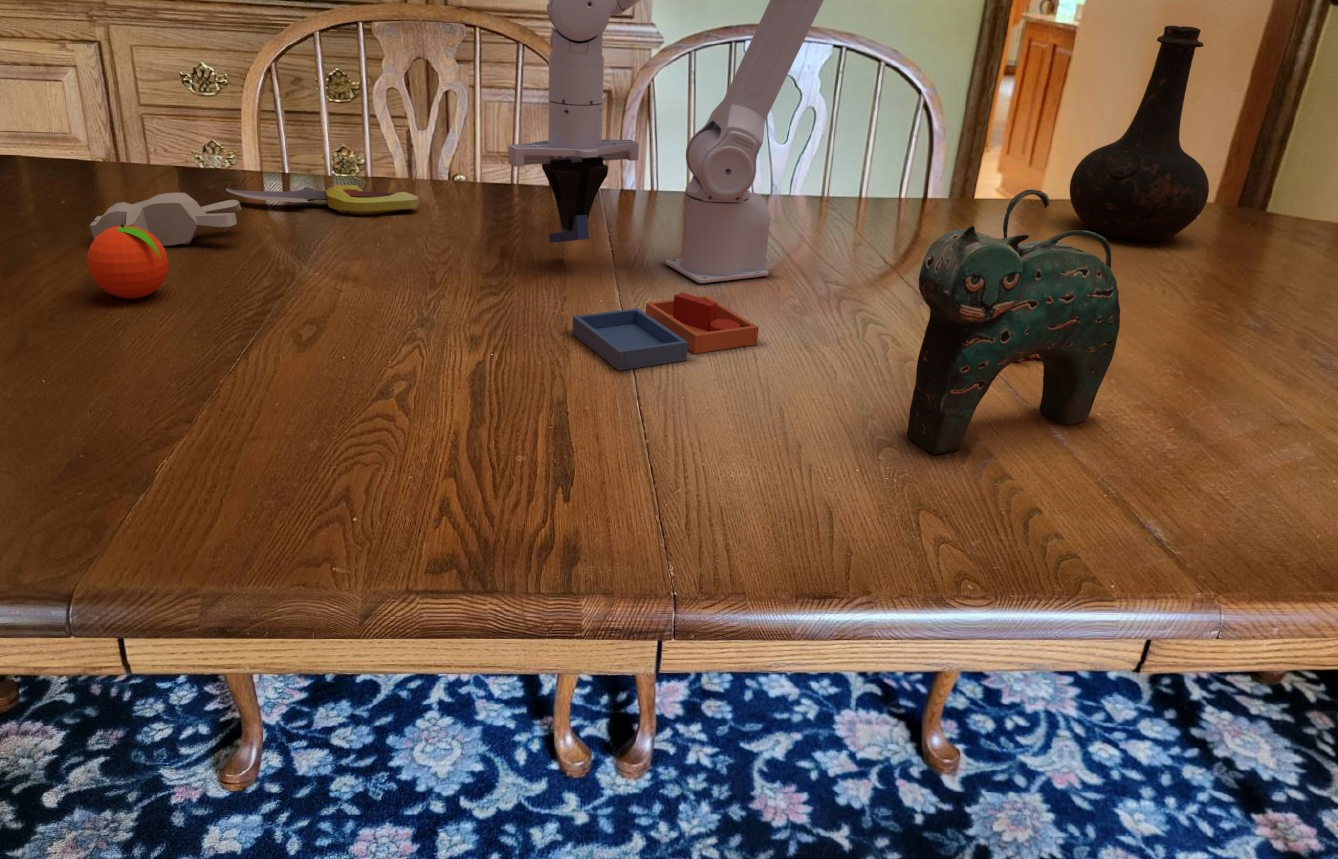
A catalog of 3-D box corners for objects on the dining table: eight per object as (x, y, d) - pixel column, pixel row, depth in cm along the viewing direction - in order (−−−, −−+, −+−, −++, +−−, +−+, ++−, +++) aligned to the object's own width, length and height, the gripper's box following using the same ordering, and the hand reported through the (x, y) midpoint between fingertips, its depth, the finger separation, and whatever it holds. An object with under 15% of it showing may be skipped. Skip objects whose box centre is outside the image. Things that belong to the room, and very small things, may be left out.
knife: (211, 209, 132) (413, 219, 133) (208, 188, 131) (412, 199, 132) (231, 195, 139) (423, 205, 140) (229, 175, 138) (422, 185, 139)
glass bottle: (1038, 227, 151) (1083, 18, 139) (1098, 212, 162) (1145, 18, 150) (1159, 258, 139) (1220, 34, 127) (1214, 240, 150) (1276, 32, 138)
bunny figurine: (97, 195, 119) (236, 180, 122) (110, 239, 121) (246, 223, 125) (79, 217, 111) (229, 200, 114) (94, 264, 113) (240, 246, 117)
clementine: (197, 296, 103) (187, 224, 100) (138, 315, 98) (125, 240, 94) (138, 281, 106) (126, 211, 103) (77, 299, 100) (63, 226, 97)
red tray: (704, 311, 109) (706, 295, 108) (757, 344, 101) (758, 326, 100) (644, 319, 105) (645, 302, 105) (694, 353, 98) (695, 335, 97)
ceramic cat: (925, 466, 80) (975, 203, 71) (873, 431, 85) (913, 182, 76) (1109, 427, 88) (1173, 189, 80) (1052, 397, 94) (1106, 171, 85)
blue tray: (637, 325, 104) (638, 307, 103) (686, 360, 96) (688, 342, 95) (572, 333, 100) (572, 316, 100) (618, 370, 93) (619, 351, 92)
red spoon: (746, 333, 102) (748, 308, 101) (728, 341, 100) (730, 315, 99) (684, 314, 106) (686, 290, 105) (666, 321, 104) (668, 296, 103)
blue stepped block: (545, 243, 121) (543, 219, 120) (570, 241, 122) (567, 218, 122) (571, 240, 114) (569, 215, 114) (596, 238, 116) (594, 214, 115)
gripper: (526, 109, 105) (526, 242, 110) (654, 105, 111) (647, 231, 117) (500, 98, 110) (501, 225, 116) (623, 95, 117) (619, 216, 123)
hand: (573, 227), depth 117 cm, fingers closed on blue stepped block
